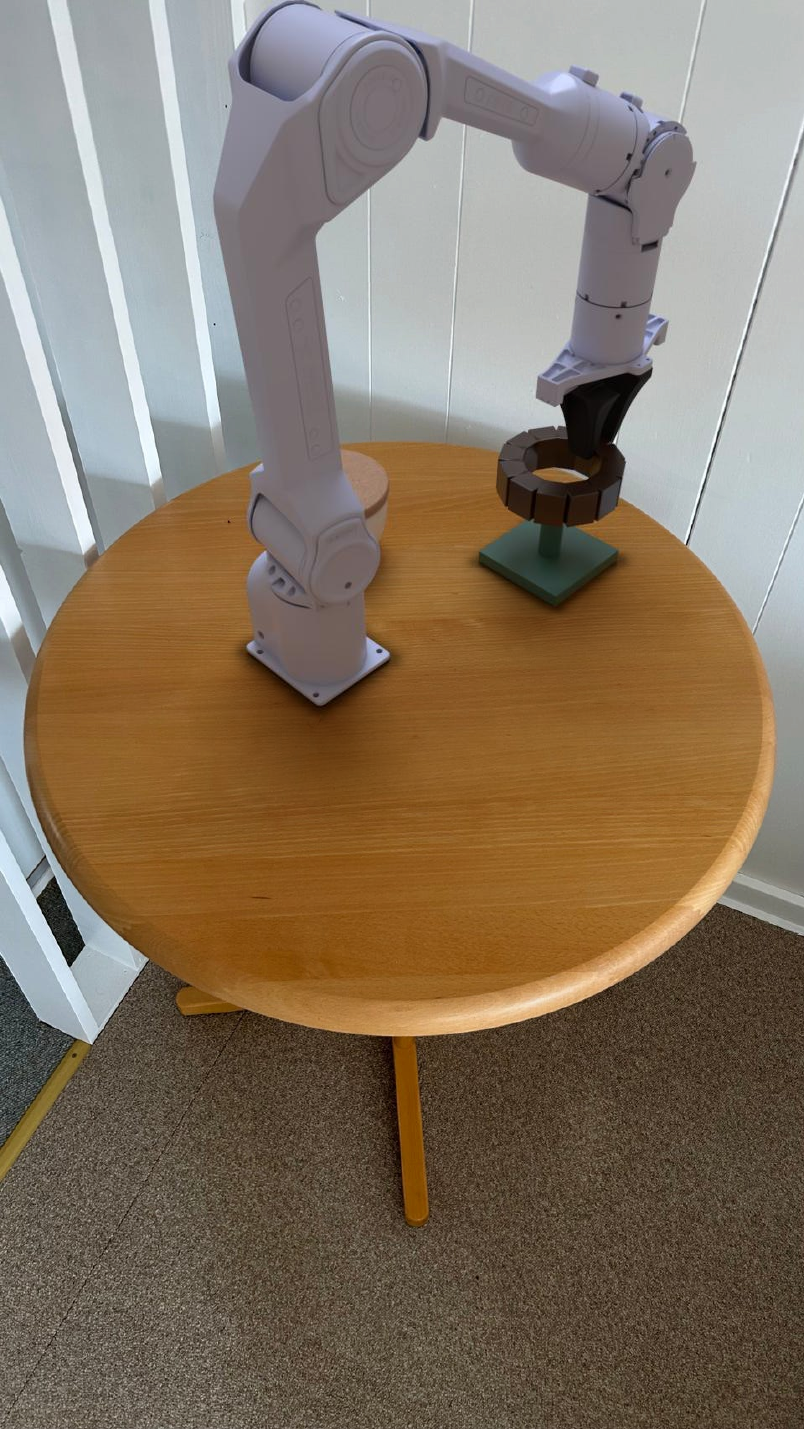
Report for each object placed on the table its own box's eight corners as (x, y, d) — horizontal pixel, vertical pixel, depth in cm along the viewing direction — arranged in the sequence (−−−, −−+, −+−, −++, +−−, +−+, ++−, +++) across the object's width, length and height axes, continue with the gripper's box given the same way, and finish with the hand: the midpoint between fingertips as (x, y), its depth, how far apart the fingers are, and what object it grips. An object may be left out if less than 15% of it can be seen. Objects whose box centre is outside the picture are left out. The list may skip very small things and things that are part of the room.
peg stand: (478, 561, 89) (481, 510, 85) (541, 519, 93) (547, 468, 89) (554, 607, 84) (562, 555, 80) (617, 560, 89) (627, 509, 84)
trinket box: (376, 597, 86) (373, 509, 79) (260, 582, 87) (247, 494, 80) (400, 524, 93) (399, 438, 86) (293, 512, 94) (283, 426, 87)
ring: (472, 490, 83) (473, 459, 81) (550, 442, 88) (553, 412, 86) (566, 543, 78) (571, 512, 76) (644, 489, 83) (650, 459, 81)
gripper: (598, 342, 68) (574, 503, 78) (713, 277, 75) (677, 433, 85) (521, 310, 71) (508, 468, 81) (638, 250, 78) (612, 403, 88)
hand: (590, 448), depth 83 cm, fingers closed on ring, 2 cm apart
